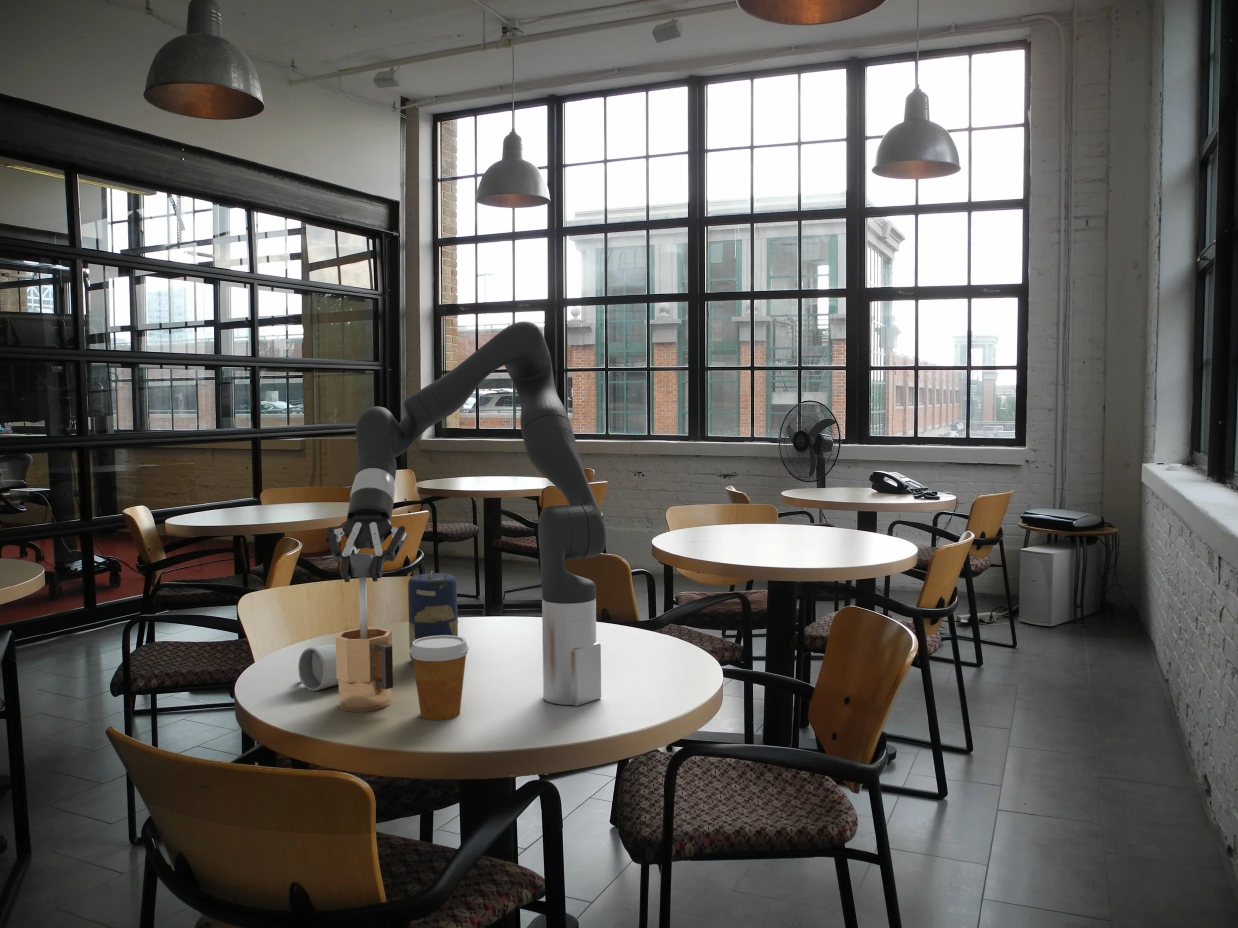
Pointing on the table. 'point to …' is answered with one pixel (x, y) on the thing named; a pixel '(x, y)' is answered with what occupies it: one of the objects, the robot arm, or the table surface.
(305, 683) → the ceramic mug
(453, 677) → the disposable coffee cup
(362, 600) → the plunger
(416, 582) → the canister
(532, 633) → the table surface
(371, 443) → the robot arm
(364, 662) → the wooden pitcher
